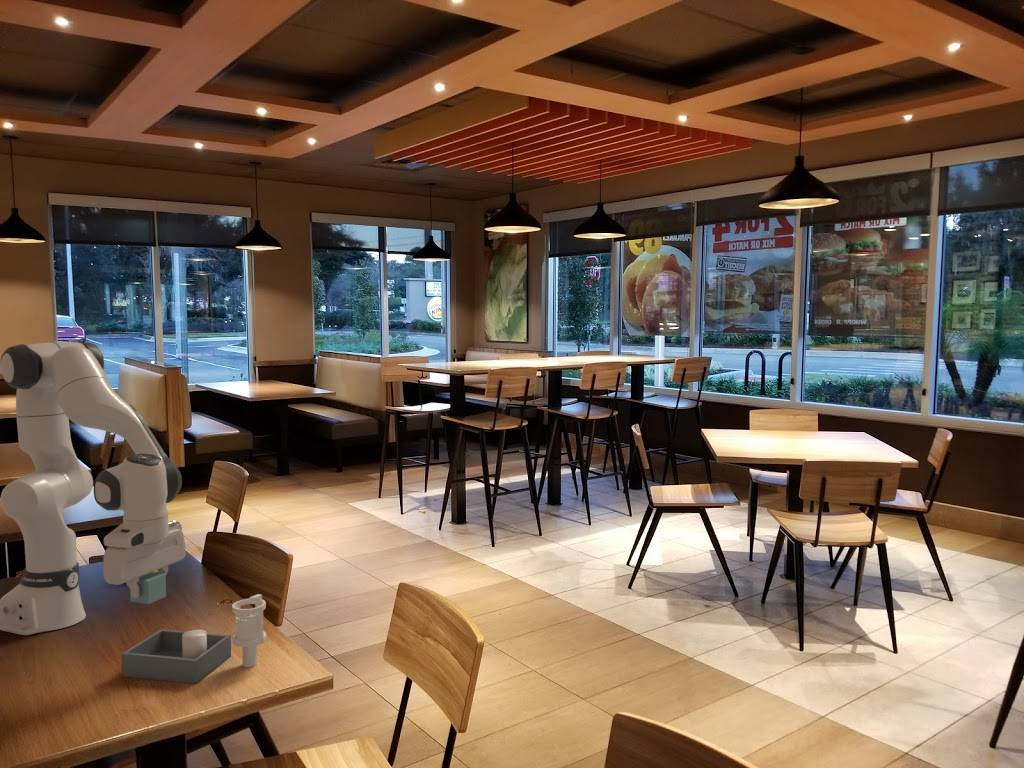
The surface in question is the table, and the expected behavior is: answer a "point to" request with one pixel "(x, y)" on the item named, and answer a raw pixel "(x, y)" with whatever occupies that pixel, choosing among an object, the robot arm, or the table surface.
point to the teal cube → (151, 588)
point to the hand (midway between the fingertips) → (148, 591)
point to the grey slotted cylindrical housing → (249, 628)
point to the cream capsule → (194, 643)
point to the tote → (174, 658)
